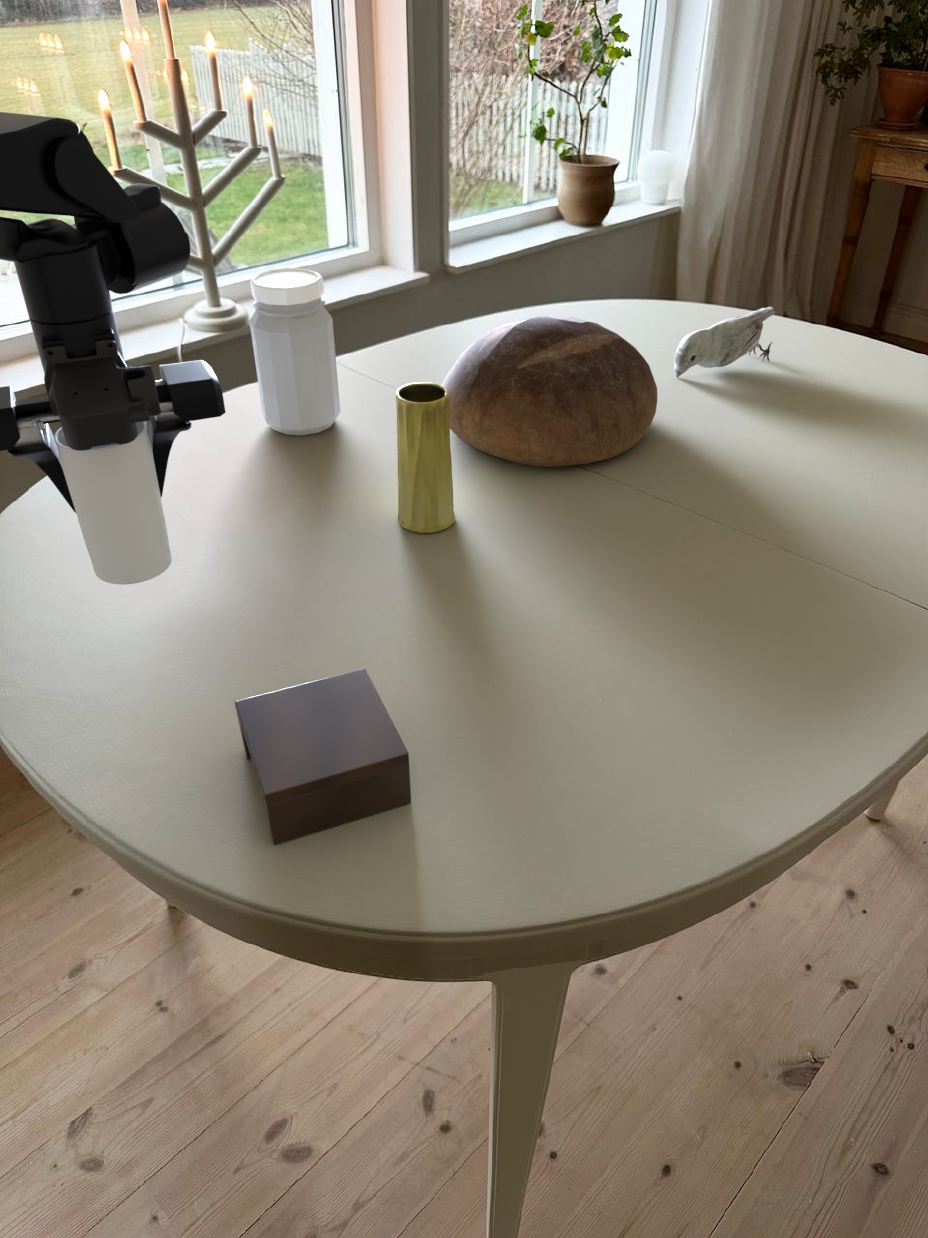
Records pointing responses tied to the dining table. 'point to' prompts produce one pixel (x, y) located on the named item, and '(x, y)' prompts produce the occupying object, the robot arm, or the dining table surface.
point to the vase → (424, 458)
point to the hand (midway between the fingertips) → (118, 503)
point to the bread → (551, 393)
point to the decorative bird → (722, 342)
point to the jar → (294, 351)
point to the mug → (118, 507)
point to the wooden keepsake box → (324, 754)
